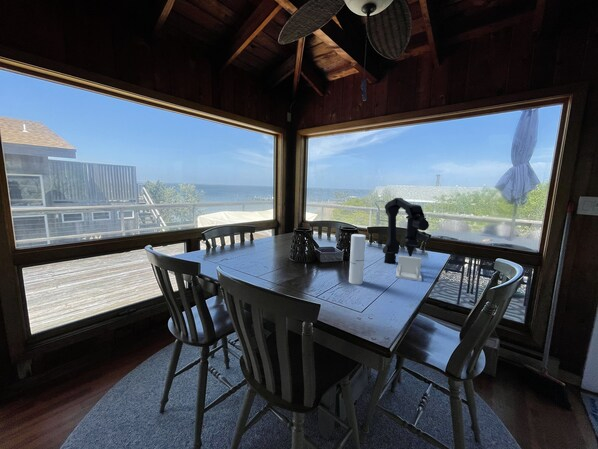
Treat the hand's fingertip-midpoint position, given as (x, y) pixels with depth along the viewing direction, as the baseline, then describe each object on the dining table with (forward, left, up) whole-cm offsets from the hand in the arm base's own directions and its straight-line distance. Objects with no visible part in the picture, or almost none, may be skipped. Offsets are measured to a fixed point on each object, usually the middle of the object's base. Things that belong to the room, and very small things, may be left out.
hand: (409, 254), depth 145 cm
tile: (0, 0, -11) cm, 11 cm away
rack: (0, 0, -12) cm, 12 cm away
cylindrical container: (-26, -25, -12) cm, 38 cm away
